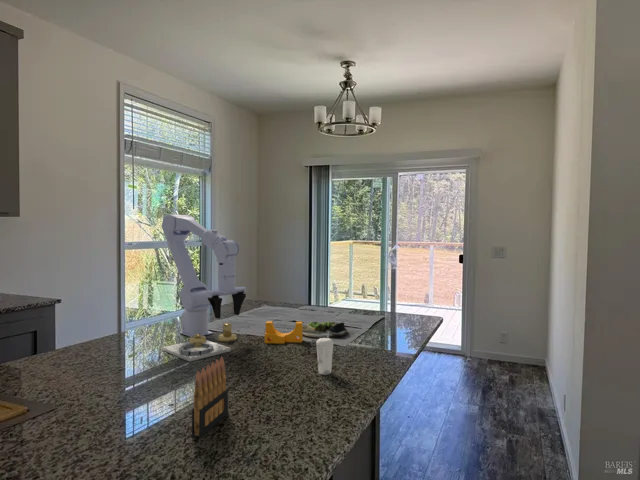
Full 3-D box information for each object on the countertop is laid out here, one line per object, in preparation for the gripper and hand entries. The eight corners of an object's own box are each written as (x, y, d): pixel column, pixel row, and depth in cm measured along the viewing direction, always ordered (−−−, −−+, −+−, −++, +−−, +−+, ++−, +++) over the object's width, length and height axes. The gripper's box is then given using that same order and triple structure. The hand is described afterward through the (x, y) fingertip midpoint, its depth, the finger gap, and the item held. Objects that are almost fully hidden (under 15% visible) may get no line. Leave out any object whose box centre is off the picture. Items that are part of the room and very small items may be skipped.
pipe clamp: (264, 343, 142) (264, 324, 142) (267, 340, 146) (267, 321, 146) (301, 344, 141) (301, 324, 141) (302, 340, 145) (302, 321, 145)
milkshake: (336, 370, 115) (336, 332, 115) (330, 376, 110) (330, 337, 110) (320, 368, 117) (320, 331, 117) (313, 374, 112) (313, 336, 111)
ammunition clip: (220, 412, 89) (219, 354, 89) (228, 413, 89) (228, 355, 89) (191, 436, 79) (190, 371, 79) (200, 438, 79) (199, 372, 78)
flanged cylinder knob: (214, 340, 146) (214, 324, 146) (229, 336, 150) (229, 321, 150) (224, 343, 142) (224, 326, 142) (240, 340, 146) (239, 323, 146)
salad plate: (295, 341, 145) (295, 327, 145) (290, 328, 163) (290, 316, 163) (351, 339, 148) (351, 325, 148) (340, 326, 166) (340, 315, 166)
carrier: (162, 350, 134) (162, 337, 133) (202, 341, 144) (202, 329, 144) (189, 361, 123) (189, 347, 122) (230, 351, 133) (230, 338, 133)
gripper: (214, 279, 137) (215, 321, 138) (251, 275, 148) (251, 314, 148) (202, 277, 142) (203, 318, 143) (239, 273, 153) (239, 311, 153)
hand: (227, 316), depth 146 cm, fingers open, 7 cm apart
